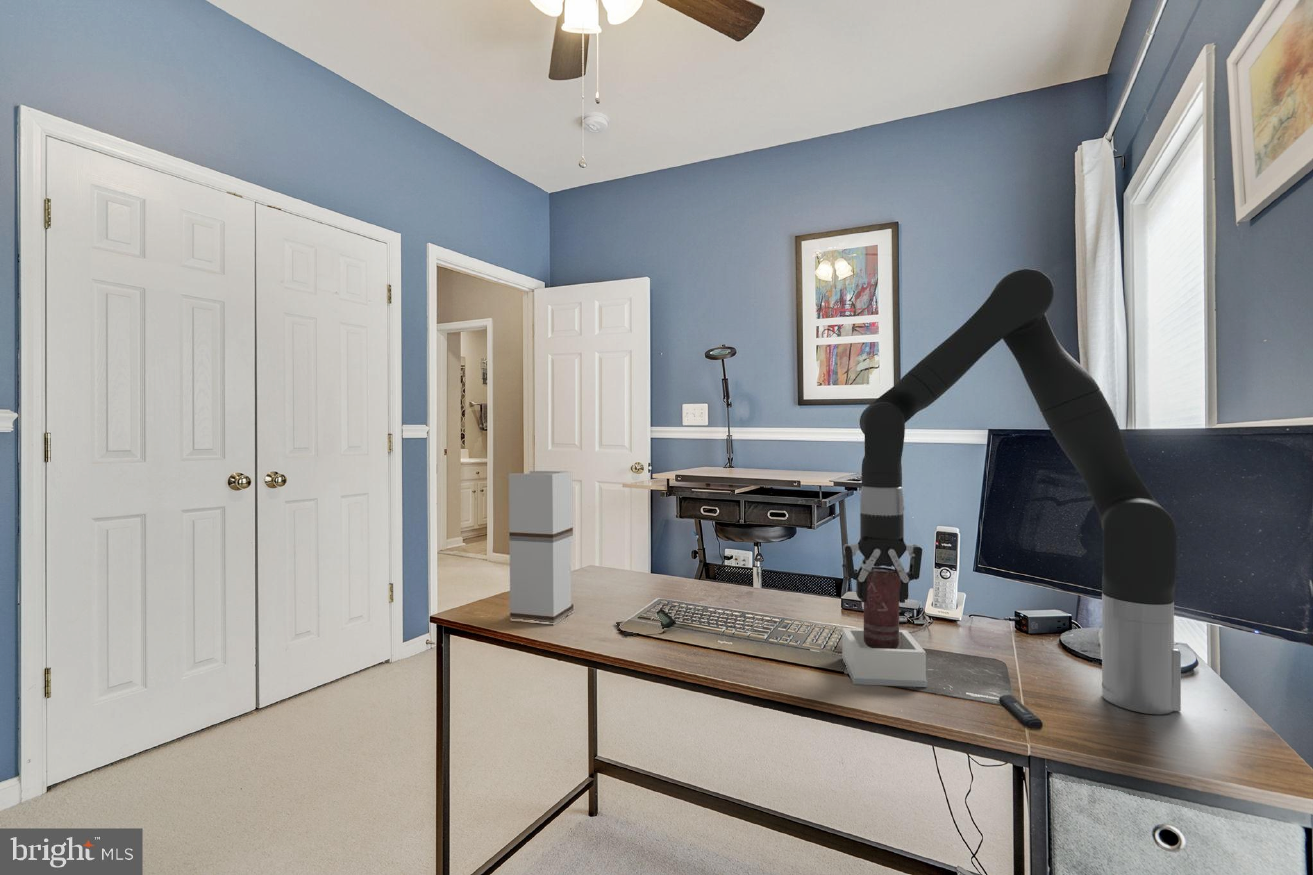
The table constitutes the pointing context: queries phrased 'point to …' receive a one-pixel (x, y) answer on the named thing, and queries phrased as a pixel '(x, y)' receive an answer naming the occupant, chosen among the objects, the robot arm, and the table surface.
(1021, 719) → the usb stick
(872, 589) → the can
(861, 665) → the light grey open box
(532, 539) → the banded grey pillar
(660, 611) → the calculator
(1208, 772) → the table surface
